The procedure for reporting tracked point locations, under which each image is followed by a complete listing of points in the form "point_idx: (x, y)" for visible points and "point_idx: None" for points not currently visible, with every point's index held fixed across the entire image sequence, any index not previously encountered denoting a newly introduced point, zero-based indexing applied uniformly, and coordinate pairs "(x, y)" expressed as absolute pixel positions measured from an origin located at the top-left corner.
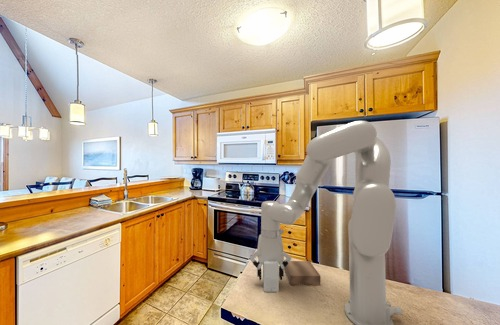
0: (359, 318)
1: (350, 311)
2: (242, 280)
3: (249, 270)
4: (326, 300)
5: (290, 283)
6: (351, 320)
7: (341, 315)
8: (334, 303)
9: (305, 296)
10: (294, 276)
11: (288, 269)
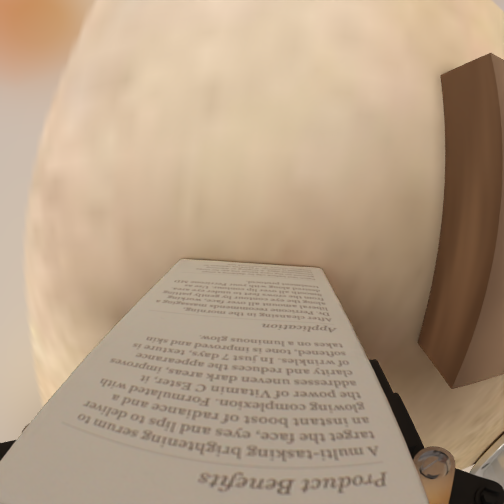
0: (484, 477)
1: (493, 459)
2: (30, 261)
3: (65, 100)
4: (490, 416)
5: (424, 348)
6: (471, 472)
7: (470, 459)
8: (498, 422)
9: (436, 418)
10: (477, 379)
11: (498, 268)
